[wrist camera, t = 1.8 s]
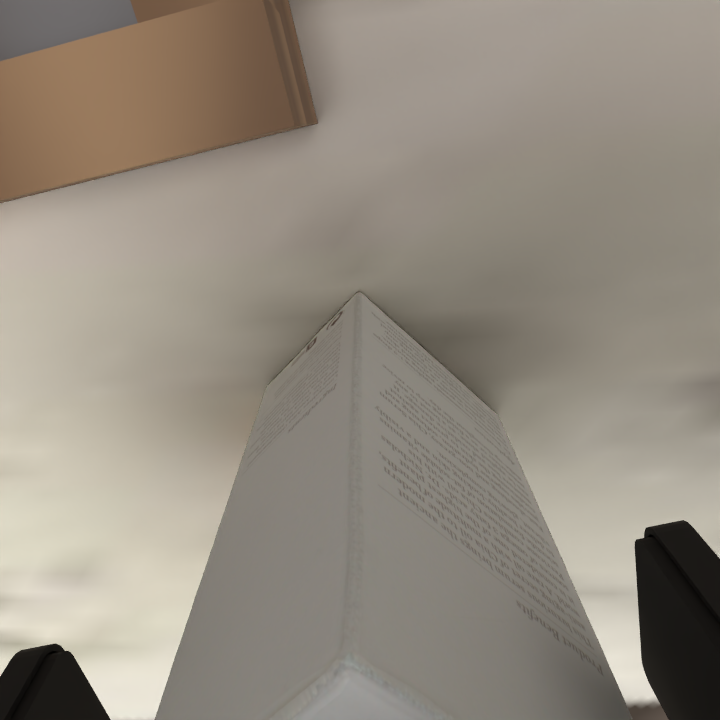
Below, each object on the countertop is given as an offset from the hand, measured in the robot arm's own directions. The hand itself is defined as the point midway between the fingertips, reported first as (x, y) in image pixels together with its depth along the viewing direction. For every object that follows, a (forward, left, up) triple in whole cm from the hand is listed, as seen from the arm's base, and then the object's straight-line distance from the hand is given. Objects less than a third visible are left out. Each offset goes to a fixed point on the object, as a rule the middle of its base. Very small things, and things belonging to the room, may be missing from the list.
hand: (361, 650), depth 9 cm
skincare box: (-1, 0, -9) cm, 9 cm away
